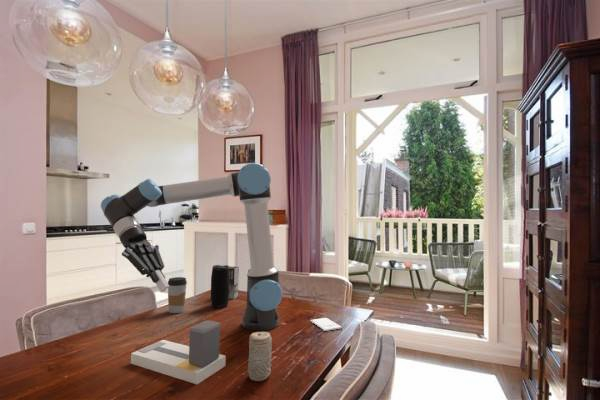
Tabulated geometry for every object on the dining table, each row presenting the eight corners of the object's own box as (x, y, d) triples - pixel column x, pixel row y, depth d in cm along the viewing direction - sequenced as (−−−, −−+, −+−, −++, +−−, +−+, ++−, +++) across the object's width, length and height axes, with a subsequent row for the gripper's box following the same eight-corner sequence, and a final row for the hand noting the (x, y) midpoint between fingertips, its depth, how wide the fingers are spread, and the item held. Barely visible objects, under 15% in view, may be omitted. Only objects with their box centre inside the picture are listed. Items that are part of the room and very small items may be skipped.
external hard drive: (326, 321, 143) (342, 330, 131) (310, 323, 139) (324, 333, 128) (326, 317, 143) (342, 326, 131) (310, 319, 139) (324, 329, 128)
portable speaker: (230, 304, 164) (231, 264, 164) (225, 309, 154) (226, 267, 155) (213, 303, 164) (215, 264, 165) (207, 308, 155) (209, 267, 156)
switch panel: (130, 363, 99) (131, 352, 99) (162, 348, 110) (163, 339, 110) (196, 384, 88) (197, 372, 88) (225, 365, 98) (225, 355, 99)
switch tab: (188, 363, 92) (189, 327, 93) (205, 353, 99) (206, 320, 99) (202, 367, 90) (203, 330, 90) (219, 357, 97) (220, 322, 97)
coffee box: (238, 296, 179) (239, 266, 180) (233, 299, 173) (234, 268, 173) (222, 295, 181) (223, 265, 181) (217, 298, 174) (218, 267, 175)
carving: (244, 382, 89) (245, 338, 89) (253, 369, 96) (254, 328, 97) (266, 385, 88) (267, 340, 88) (273, 372, 95) (274, 330, 96)
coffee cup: (179, 315, 144) (180, 281, 145) (162, 313, 146) (163, 280, 147) (189, 309, 153) (190, 277, 153) (173, 308, 154) (174, 276, 155)
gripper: (141, 239, 117) (174, 292, 109) (106, 242, 105) (140, 301, 98) (152, 225, 115) (187, 277, 107) (118, 226, 103) (154, 285, 96)
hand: (165, 288), depth 102 cm, fingers closed
